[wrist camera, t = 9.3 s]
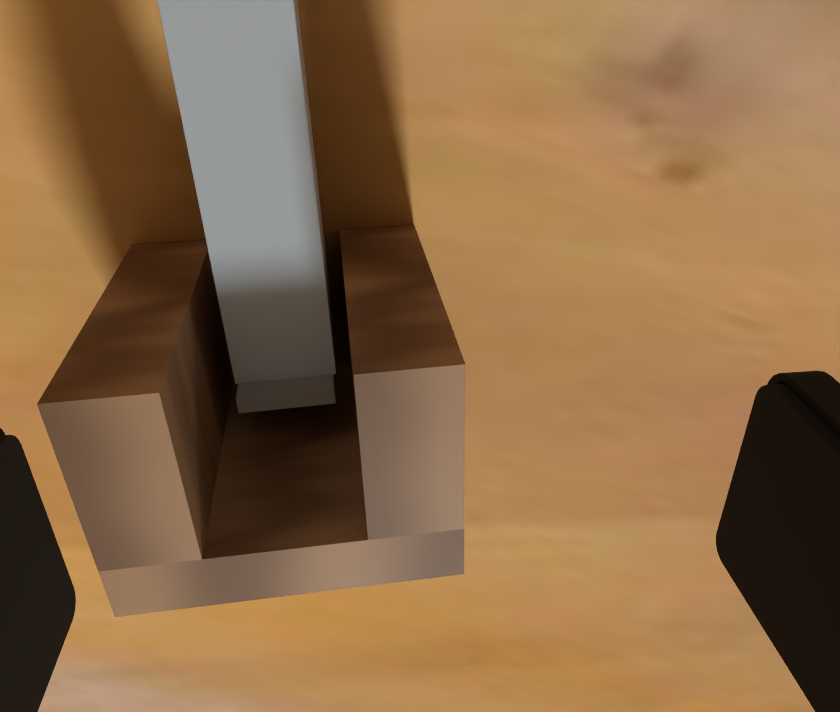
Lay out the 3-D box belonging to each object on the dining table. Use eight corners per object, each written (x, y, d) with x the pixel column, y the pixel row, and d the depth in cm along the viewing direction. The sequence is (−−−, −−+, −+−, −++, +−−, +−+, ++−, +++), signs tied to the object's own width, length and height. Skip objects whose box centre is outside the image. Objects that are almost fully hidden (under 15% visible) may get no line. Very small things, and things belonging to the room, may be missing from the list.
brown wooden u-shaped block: (414, 224, 28) (465, 364, 19) (419, 391, 32) (463, 573, 23) (131, 244, 27) (36, 404, 18) (174, 414, 31) (115, 617, 22)
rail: (288, -75, 23) (282, -81, 18) (333, 324, 30) (338, 402, 25) (175, -71, 22) (134, -75, 17) (248, 332, 30) (235, 413, 25)
